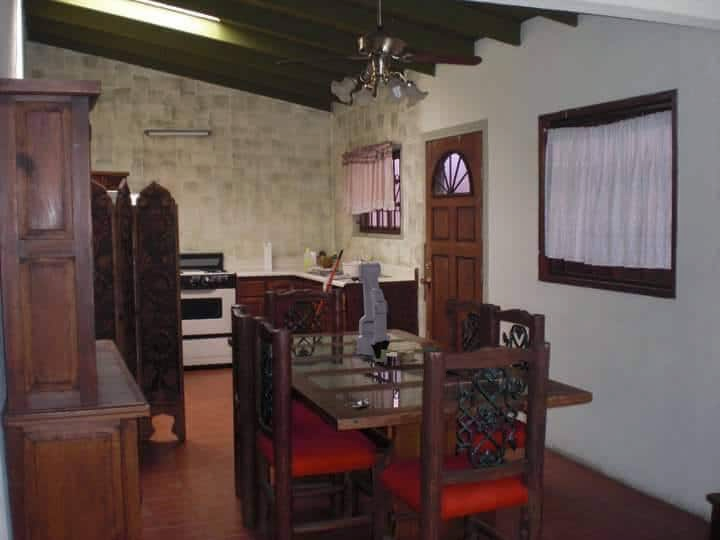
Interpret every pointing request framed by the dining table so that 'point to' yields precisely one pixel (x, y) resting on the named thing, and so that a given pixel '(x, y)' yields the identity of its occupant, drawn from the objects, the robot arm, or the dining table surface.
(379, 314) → the robot arm
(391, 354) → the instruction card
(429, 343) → the cupcake
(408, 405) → the dining table surface
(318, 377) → the dining table surface
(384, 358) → the sage brick
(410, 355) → the beech base brick
